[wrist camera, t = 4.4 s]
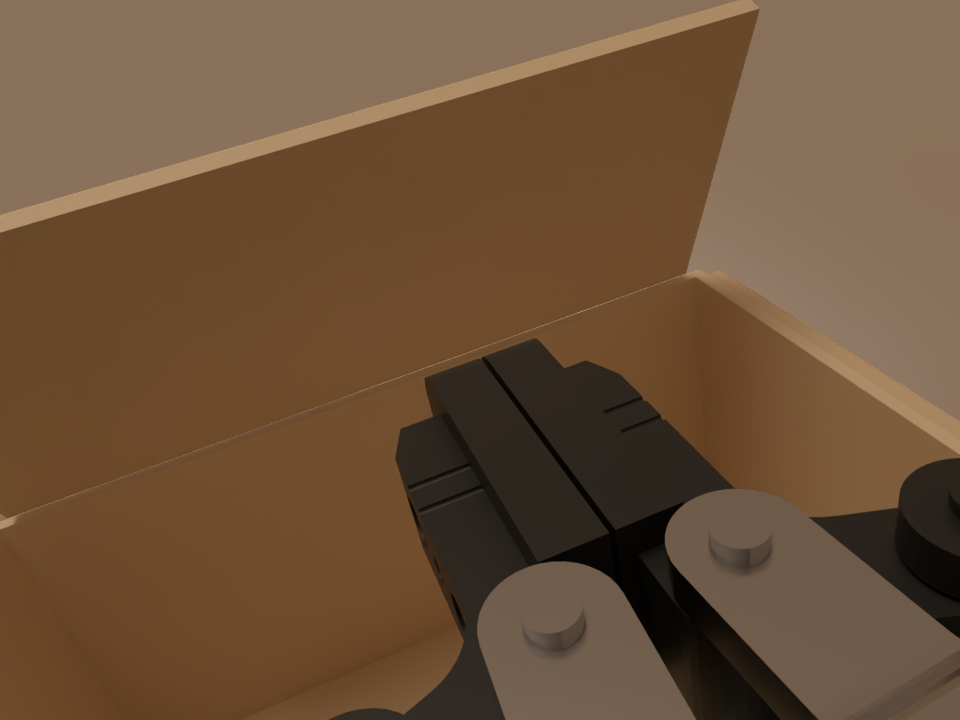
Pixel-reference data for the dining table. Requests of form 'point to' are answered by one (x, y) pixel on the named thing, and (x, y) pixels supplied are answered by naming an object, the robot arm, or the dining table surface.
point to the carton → (400, 520)
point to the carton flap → (351, 251)
